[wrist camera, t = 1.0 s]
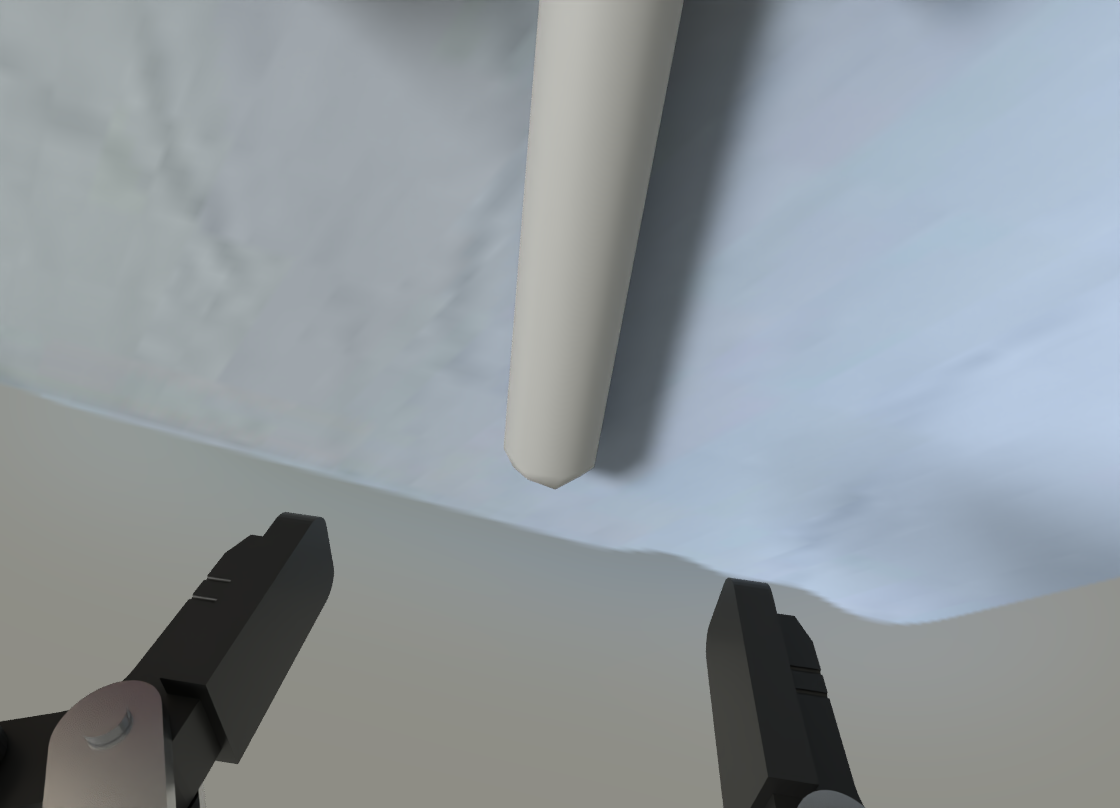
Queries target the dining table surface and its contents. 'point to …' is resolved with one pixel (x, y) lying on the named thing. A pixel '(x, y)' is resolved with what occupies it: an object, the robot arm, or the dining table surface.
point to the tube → (581, 220)
